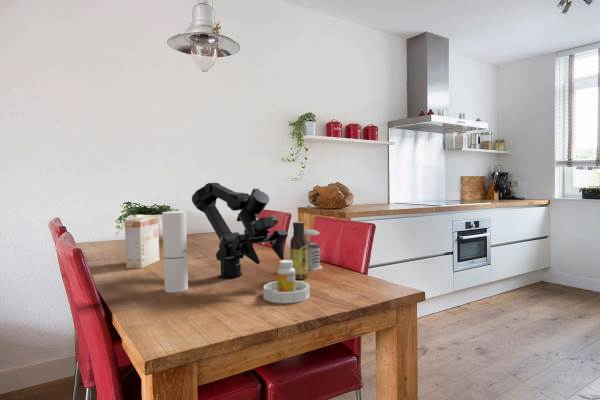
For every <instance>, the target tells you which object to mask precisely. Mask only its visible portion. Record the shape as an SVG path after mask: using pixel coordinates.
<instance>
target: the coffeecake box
mask: <svg viewBox="0 0 600 400" xmlns="http://www.w3.org/2000/svg"><path fill="white" fill-rule="evenodd" d="M159 234H160V233H159V217H158V216H142V217H135V218H132V219H131V218H130V219H127V220H124V235H125V236H124V239H125V258H126V259H125V261H126V265H125V266H126V269H143V268H146V267H148V266H150V265H152V264H154V263H157V262H160V241H159V240H160V237H159Z"/></svg>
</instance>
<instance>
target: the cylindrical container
mask: <svg viewBox="0 0 600 400" xmlns="http://www.w3.org/2000/svg"><path fill="white" fill-rule="evenodd" d="M187 236H188V235H187V211H179V210H177V211H176V210H175V211H163V212H162V246H163V250H162V251H163V272H164V273H163V276H164V277H163V278H164V292H166V293H168V294H169V293H174V294H175V293H181V292H185V291H187V290H188V289H189V283H188V280H189V279H188V277H189V276H188V274H189V273H188V245H187V244H188V242H187V241H188V240H187V238H188V237H187Z"/></svg>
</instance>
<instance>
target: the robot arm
mask: <svg viewBox="0 0 600 400" xmlns="http://www.w3.org/2000/svg"><path fill="white" fill-rule="evenodd" d="M218 199H220V200H222V201H223V202H225V204H226V206H227V207H228V208H229V209H230V210H231V211H233V212H236V211H237V212H238V211H240V212H239V213H238V214H237V217H236V222H241V223H242V225H243V227H244V230H243V233H244V234H243V233H242V234H240V233H239V232H238V231H237V232H236V231H235V232H232V230H231V229H230V227H229V226H228V225H227V222H226V221H225V219H224V218H223V216H222V214H221V213H220V211H219V209H218V208H217V206H216V205H217V200H218ZM191 201H192V203H193V205H194V207H195V208H196V209H197V210H199V211H200V212H202V213H204V215H205V216H206V219H207V220H208V222H209V223H210V225H211V227H212V228H213V231H214V232H215V234H216V236H217V238H218V239H219V244H218V248H219V249H218V250H217V252H216V253H215V257H216V261H218V262H220V274H219V275H218V278H225V279H235V278H238V277H240V276H242V275H243V273H242V271H241V270H242V266H241V263H240V260H242V259H244V257H247V258H248V259H250V261H252V262H253V263H255V264H257V265H259V264H260V258H259V256H258V254H257V252H256V250H255V248H254V245H255V244H263V243H269V244H270V246H271V248H272V250H273V252H274V253H275V254H276V256H277V257H278V258H279V259H280V261H281V260H285V257H284V249H283V243H284V241H285V240H286V239H287V237H289V236H288V232H287V231H286V230H285V229H277V230H274V231H273V233H272V234H271V235H268V234H269V233H270V232H271V230H270V229H272V228H274V227H275V226H276V225H278V218H277V217H276V215H269V216H264V217H259V216H258V215H260V214H262V212H263V211H264V209H265V208H266V206H267V205H268V203H269V202H270V197H269V194H267V193H265V192H264V191H261V190H260V188H253V189H252V191H251V193H250V194H249V193H247V192H246V193H245V192H237V191H234V190H232V189H229V188H228V187H225V186H223V185H221V184H220V183H218V182H208V183H205V185H204V186H203V187H200V188H198V189H197V190H196V191H195V192H194V193H193V195H192V197H191Z"/></svg>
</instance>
